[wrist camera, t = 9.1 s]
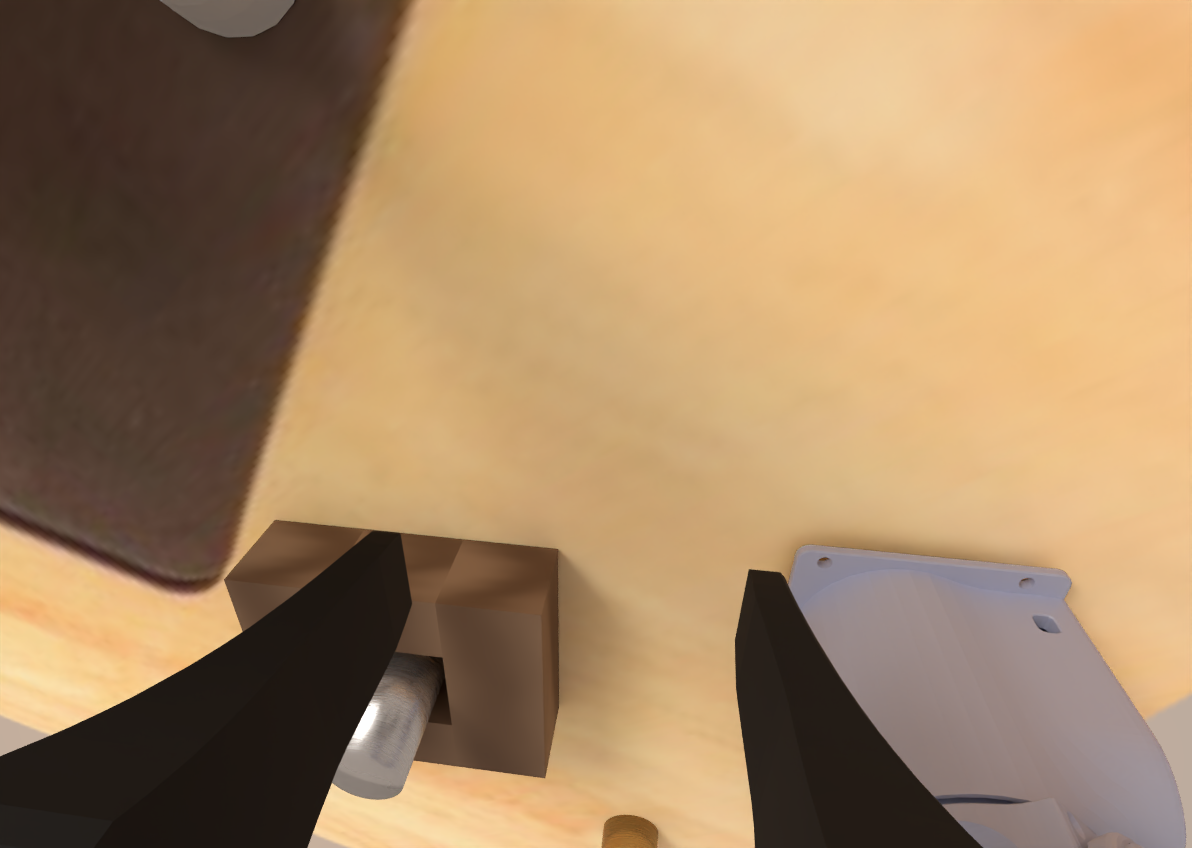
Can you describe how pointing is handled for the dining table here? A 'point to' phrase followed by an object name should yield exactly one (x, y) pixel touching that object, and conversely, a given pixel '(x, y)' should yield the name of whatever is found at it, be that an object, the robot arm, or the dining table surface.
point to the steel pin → (391, 728)
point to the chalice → (231, 15)
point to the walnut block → (447, 634)
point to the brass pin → (629, 833)
